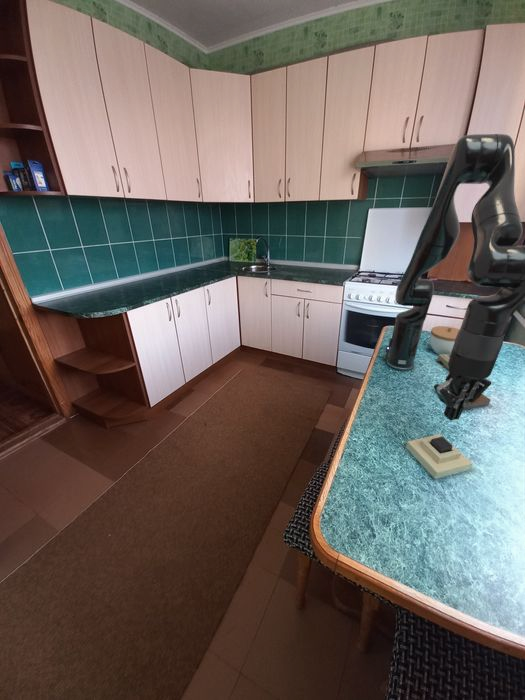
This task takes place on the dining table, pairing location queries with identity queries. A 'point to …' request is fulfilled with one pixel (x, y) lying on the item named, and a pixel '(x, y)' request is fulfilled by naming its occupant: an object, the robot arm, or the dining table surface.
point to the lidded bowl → (443, 339)
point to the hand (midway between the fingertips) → (451, 417)
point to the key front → (441, 445)
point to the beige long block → (444, 360)
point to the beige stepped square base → (438, 458)
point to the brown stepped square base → (477, 402)
